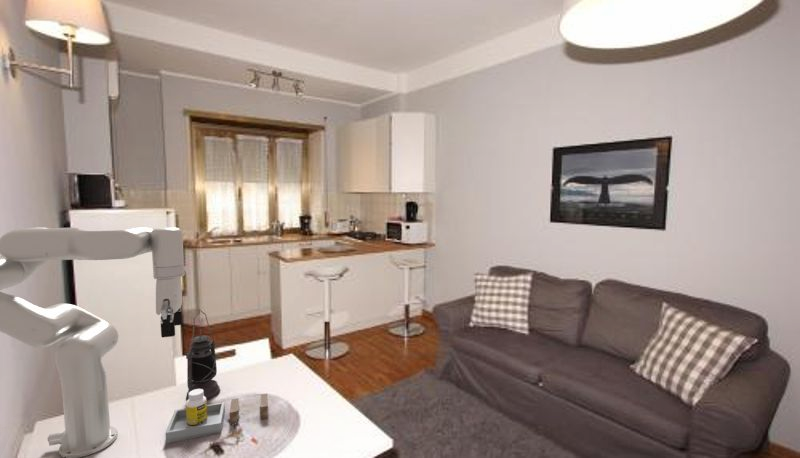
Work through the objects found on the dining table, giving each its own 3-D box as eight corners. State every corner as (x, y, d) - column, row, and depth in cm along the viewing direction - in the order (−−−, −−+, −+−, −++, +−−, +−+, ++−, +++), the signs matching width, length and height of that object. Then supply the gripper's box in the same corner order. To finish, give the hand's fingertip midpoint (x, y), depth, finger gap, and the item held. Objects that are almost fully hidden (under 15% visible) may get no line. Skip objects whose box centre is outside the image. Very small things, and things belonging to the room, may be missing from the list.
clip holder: (229, 425, 115) (229, 412, 114) (231, 411, 122) (231, 399, 122) (267, 418, 118) (267, 405, 118) (267, 405, 126) (267, 393, 125)
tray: (166, 443, 106) (165, 432, 106) (175, 419, 118) (174, 410, 117) (221, 432, 111) (220, 422, 111) (225, 410, 122) (224, 401, 122)
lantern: (204, 383, 140) (200, 303, 138) (229, 387, 137) (225, 305, 135) (176, 401, 128) (171, 313, 126) (202, 405, 125) (198, 316, 123)
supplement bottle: (198, 429, 111) (197, 397, 110) (182, 427, 112) (180, 395, 111) (211, 419, 116) (210, 388, 115) (195, 417, 117) (194, 386, 117)
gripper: (161, 267, 114) (164, 322, 116) (144, 278, 98) (148, 343, 100) (189, 265, 117) (192, 319, 118) (177, 276, 101) (181, 339, 102)
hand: (172, 330), depth 109 cm, fingers open, 9 cm apart
